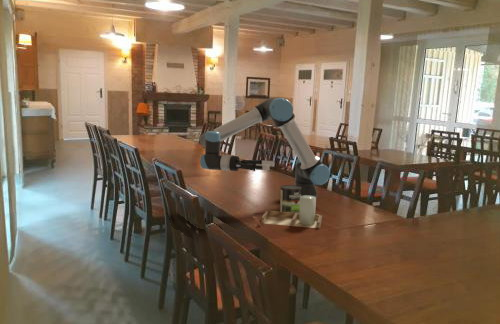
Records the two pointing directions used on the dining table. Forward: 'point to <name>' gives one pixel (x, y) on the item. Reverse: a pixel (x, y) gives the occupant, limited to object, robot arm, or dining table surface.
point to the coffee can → (290, 198)
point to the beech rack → (287, 219)
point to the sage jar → (307, 210)
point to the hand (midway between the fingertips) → (272, 165)
